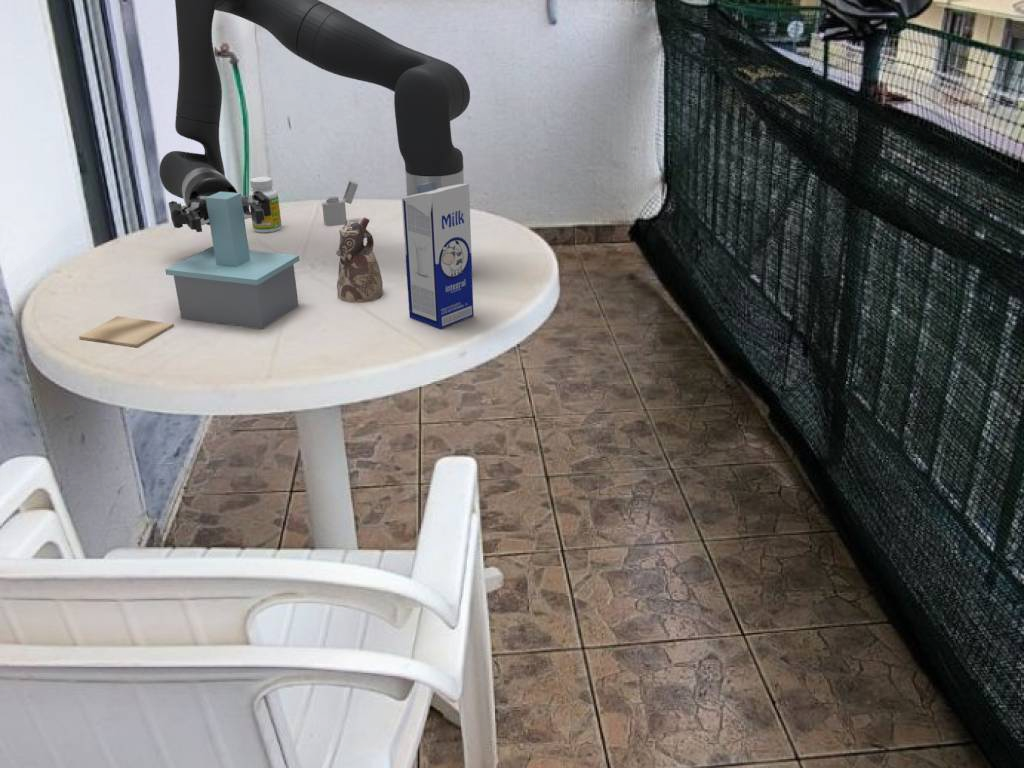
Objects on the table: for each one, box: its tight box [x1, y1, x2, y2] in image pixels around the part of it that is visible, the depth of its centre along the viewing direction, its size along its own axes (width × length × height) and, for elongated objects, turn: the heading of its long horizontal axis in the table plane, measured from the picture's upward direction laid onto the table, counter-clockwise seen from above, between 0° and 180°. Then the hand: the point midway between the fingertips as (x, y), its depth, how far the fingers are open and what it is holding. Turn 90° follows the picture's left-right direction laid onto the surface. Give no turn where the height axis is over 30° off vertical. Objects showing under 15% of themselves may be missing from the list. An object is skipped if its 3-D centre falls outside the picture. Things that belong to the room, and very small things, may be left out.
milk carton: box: [400, 181, 474, 330], centre depth 135 cm, size 7×7×20 cm
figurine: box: [335, 217, 384, 303], centre depth 146 cm, size 7×7×12 cm
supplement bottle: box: [248, 176, 282, 234], centre depth 179 cm, size 5×5×10 cm
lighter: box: [321, 180, 359, 227], centre depth 183 cm, size 7×2×8 cm, turn 116°
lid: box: [164, 192, 301, 285], centre depth 137 cm, size 15×11×11 cm
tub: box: [173, 264, 299, 330], centre depth 141 cm, size 14×10×7 cm
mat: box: [78, 315, 175, 348], centre depth 135 cm, size 10×8×1 cm
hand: (229, 221), depth 134 cm, fingers open, 8 cm apart
